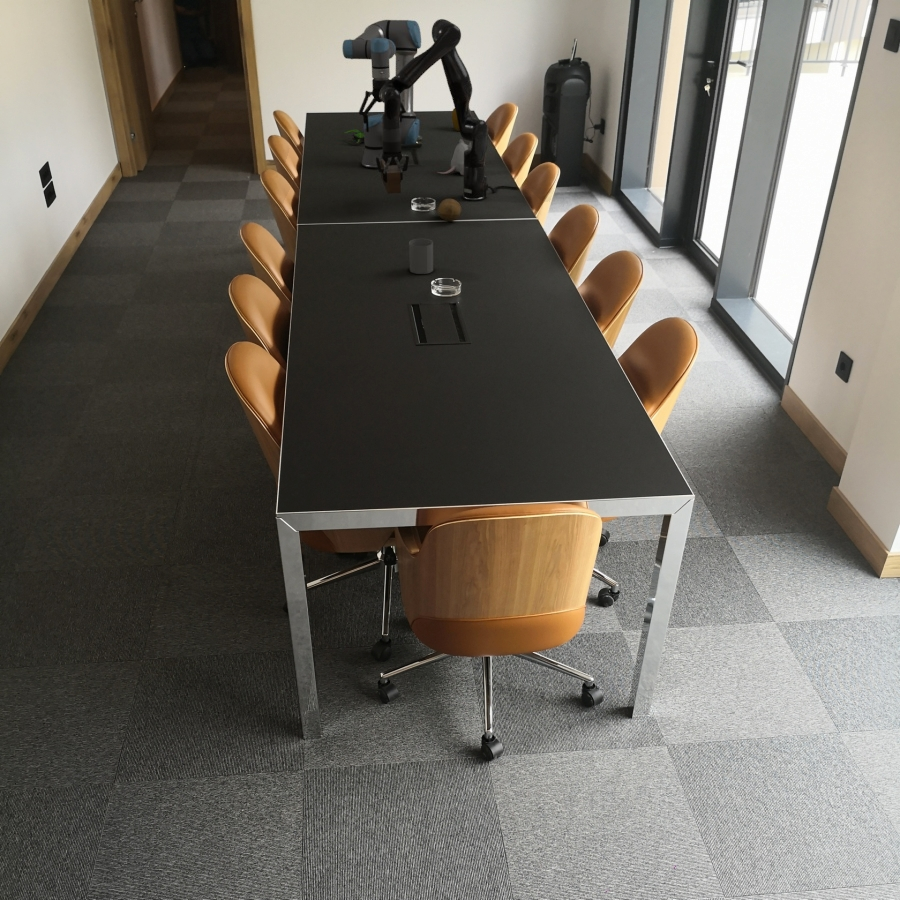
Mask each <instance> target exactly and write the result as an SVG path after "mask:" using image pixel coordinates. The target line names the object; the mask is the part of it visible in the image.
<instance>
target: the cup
mask: <svg viewBox="0 0 900 900" xmlns="http://www.w3.org/2000/svg"><path fill="white" fill-rule="evenodd" d="M408 253H409V272H411V273H412V274H416V275H426V274H430V273H432V272H434V241H433V240H431V239H428V238H422V237H421V238H420V237H419V238H414V239H411V240H410V241H409V242H408Z"/></svg>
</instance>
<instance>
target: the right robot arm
mask: <svg viewBox="0 0 900 900" xmlns="http://www.w3.org/2000/svg"><path fill="white" fill-rule="evenodd" d="M431 38H432V40H433V44H432V45H431V46H430V47H428V49H426V50H425V51H423V52H421V53H420V54H418V55H417V56H414V58H413V59H412V60H411V61H409V62H408V63H407V64H406V65H405V66H404V67H403V68H402V70H401V71H400V72H399V73H398V74H397V75H396V74H395V76H393V77H392V78H391V79H389V81H388V82H387V83H386V84H385V85H384V86H383V87H382V88H381V90H380V93H379V97H380V99H381V101H382V102H381V103H383V113H382V114H383V115H382V146H383V154H382V156H379V157H378V156H376V157H375V159H376V163H377V167H378V169H377V170H378V173H381V172H382V173H383V180H384V181H385V183H387V174H386V172H387V169H388V167H389V166H391V165H397V167H398V169H399V171H400V180H401V181H403V180H404V172H406V171H408V166H409V162H410V161H409V160H410V156H409V154H403V153H402V144H401V132H400V118H399V115H400V108H401V95H400V93H401V92H403V91H404V90H405V89H409V88H410V87H411V86H412V85H413V84H414V85H415V83H417V81H419V79H421V77H422V76H423V75H424V74H425V73H426V72H427V71H428V70H429V69H431V67H432V66H434V65H435V64H436V63H437V62H438V61H441V64H442V69H443V72H444V75H445V79H446V83H447V86H448V89H449V93H450V96H451V99H452V102H453V106H454V108H455V110H456V114H457V120H458V125H459V130H460V131H459V133H460V136H461V138H462V140H465V141H469V142H470V141H471V149H467V150H465V151H464V175H463V193H462V198H463V199H464V200H466V201H470V202H471V201H473V202H474V201H475V202H476V201H477V202H478V201H482V200H485V199H486V198H487V191H489V189H490V190H491V192H492V193H496V191H497V189H501V188H504V189H513V190H519V187H518V186H511V185H497V186H494V188H493V187H492V186H491V185H489V183H488V182H487V180H488V179H487V177H488V176H487V175H486V154H487V149H488V141H489V140H488V139H489V126H488V123H487V122H486V121H485V120H484V119H480V118H475V117H473V116H472V112H471V113H470V111H471V108H470V101H471V98H472V95H473V85H472V81H471V77H470V74H469V72H468V69H467V67H466V65H465V64H464V62H463V60H462V58H461V57H460V55H459V53H458V50H457V46H458V45H459V44H460V42H461V39H462V31H461V29H460V27H459V26H457V25H456V24H454V23H453V22H452V21H450V20H448V19H444V18H440V19H437V20H436V21H435V22H434V23H433V24H432V27H431ZM381 159H383V160H384V161H385V164H384V168H383V169H382V168H381V165H380V162H381ZM402 159H403V161H404V163H403V167H402V166H401V163H400V162H401V161H402Z"/></svg>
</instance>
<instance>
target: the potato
mask: <svg viewBox="0 0 900 900" xmlns="http://www.w3.org/2000/svg"><path fill="white" fill-rule="evenodd" d="M461 212H462V205H461V204H460V203H459V202H458V201H457V200H456V199H453V198H445V199H443V200H442V201H441V202H440V203H439V204H438V207H437V215H438V216H439V217H440V218H441V219H442V220H444V221H447V222H454V221H456V220H457V219H458V218H460V215H461Z"/></svg>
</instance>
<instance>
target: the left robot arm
mask: <svg viewBox="0 0 900 900" xmlns="http://www.w3.org/2000/svg"><path fill="white" fill-rule="evenodd" d="M341 48H342V55H343V57H344V59H348V60H371V78H372V81H371V84H372V91H368V90H365V92H364V97H363V100H362V103H361V105H360V107H359V110H358V114H359V115H360V116H362V119H363V121H362V122H363V133H364V142H363V143H364V151H363V154H362V159H361V166H362V167H363V168H366V169H371V170H378V167H377V163H376V159H375V157H376V156H378V157H379V156H382V154H383V146H382V115H383V113H378V114H373V115H368V114H369V112H370V111H371V110H372V108H373V107H374V106H375V104H376V103H383V102H382V101H381V99H380V97H379V93H380V90H381V88H382V87H383V86H384V85H385V84H386V83H387V82H388V81H389V80H390V78H391V71H390V60H391V59H393V57H394V56H395V76H396V75H397V74H398V73H399V72H400V71H401V70H402V68H403V67H404V66H405V65H406V64H407V63H408V62H409V61H411V60H412V59H413V58H415V57H416V55H417V54H418V49H421V48H422V34H421V28H420V25H419V23H418V22H417V21H416V20H409V19H382V20H379V21H375V22H374V23H371V24H370V25H368V26H366V27H365V29H364V31H363V32H362V33H361V34H359V35H357V37H356V38H354V39H351V38H349V39H344V40H343V42H342V47H341ZM414 86H415V83H414V84H413V85H412V86H411V87H410V88H409V89H405V90H404V91H403V92H401V93H400V95H401V108H400V115H399V118H400V132H401V145H403V146H404V145H405V146H408V145H409V146H410V145H411V146H412V145H414V144H416V143H417V141H418V138H419V134H420V129H421V128H420V127H421V126H420V119H418V118H417V114H416V113H415V112H414ZM371 96H372V97H373V98H372V100H371V101H370V103H369V104H368V105H367V103H368V100H369V98H371ZM366 105H367V106H366ZM365 107H366V108H365ZM380 165H381V162H380Z"/></svg>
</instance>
